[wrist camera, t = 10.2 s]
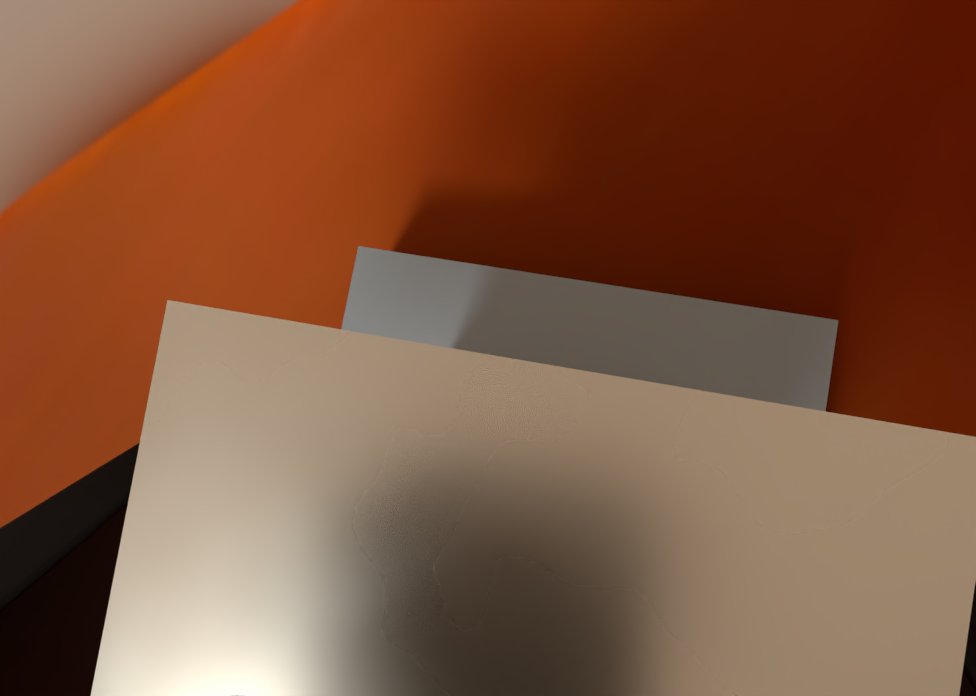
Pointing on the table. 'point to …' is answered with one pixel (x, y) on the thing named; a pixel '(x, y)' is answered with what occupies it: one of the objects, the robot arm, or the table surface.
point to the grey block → (594, 327)
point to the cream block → (520, 531)
